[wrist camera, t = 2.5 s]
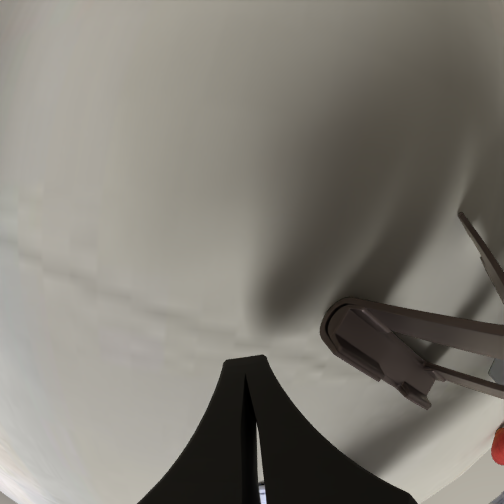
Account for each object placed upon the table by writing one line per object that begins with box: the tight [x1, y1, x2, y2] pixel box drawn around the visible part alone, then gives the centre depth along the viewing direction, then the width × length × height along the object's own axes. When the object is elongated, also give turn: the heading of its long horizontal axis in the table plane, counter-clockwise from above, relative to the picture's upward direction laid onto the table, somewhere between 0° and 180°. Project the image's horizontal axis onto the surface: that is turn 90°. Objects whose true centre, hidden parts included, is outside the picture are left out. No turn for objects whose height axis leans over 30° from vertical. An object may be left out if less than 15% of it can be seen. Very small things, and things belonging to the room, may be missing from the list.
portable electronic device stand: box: [320, 212, 504, 410], centre depth 7 cm, size 9×8×8 cm
